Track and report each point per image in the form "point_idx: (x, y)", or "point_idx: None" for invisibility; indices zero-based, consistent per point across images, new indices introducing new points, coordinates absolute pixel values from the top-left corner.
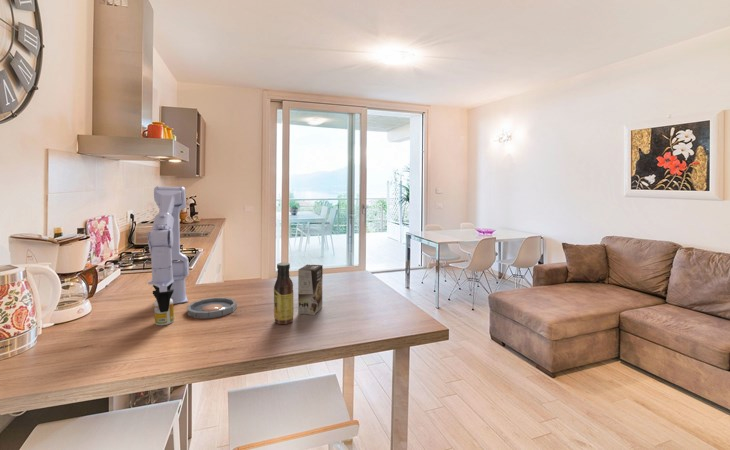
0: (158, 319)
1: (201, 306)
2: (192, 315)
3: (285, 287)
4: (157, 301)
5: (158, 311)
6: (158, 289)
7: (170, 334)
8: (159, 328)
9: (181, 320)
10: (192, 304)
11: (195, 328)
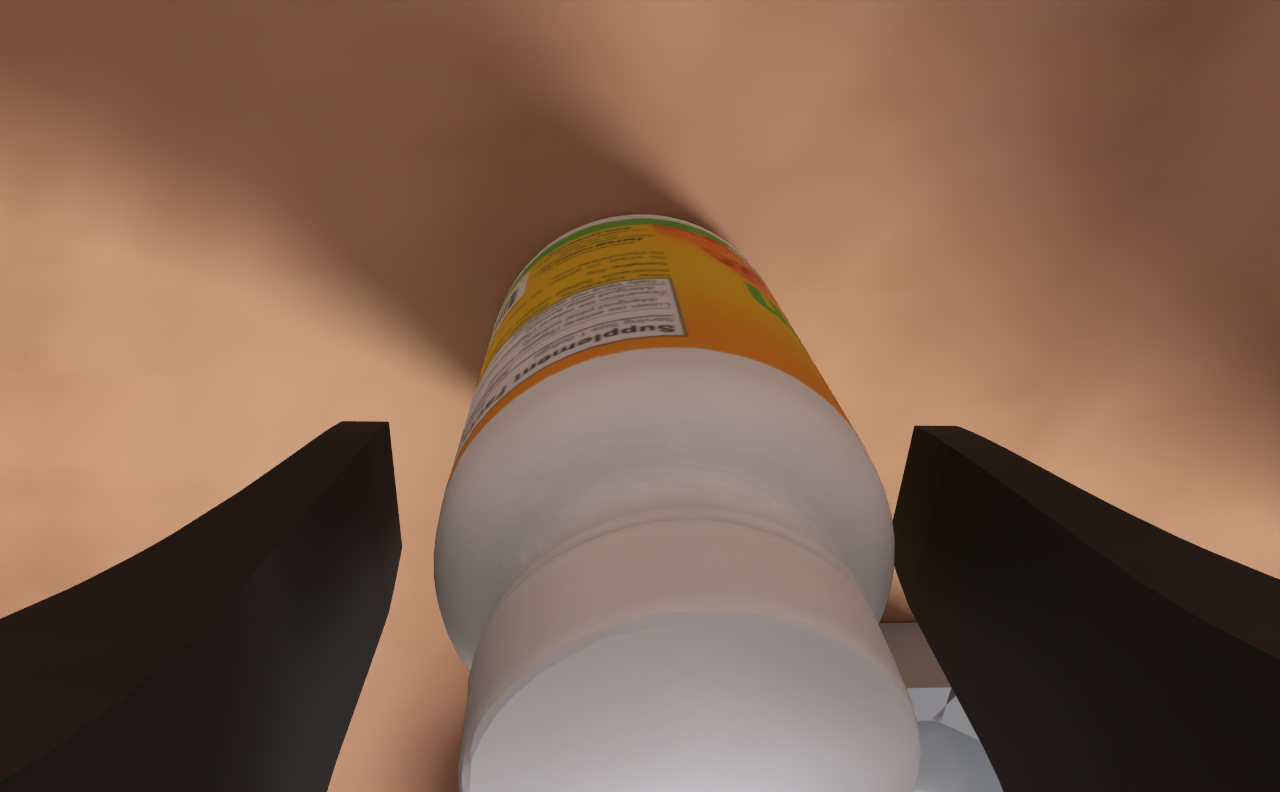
0: (517, 298)
1: (940, 785)
2: None
3: None
4: (96, 578)
5: (488, 377)
6: (1212, 734)
7: (44, 398)
8: (386, 264)
9: None
10: None
11: None
